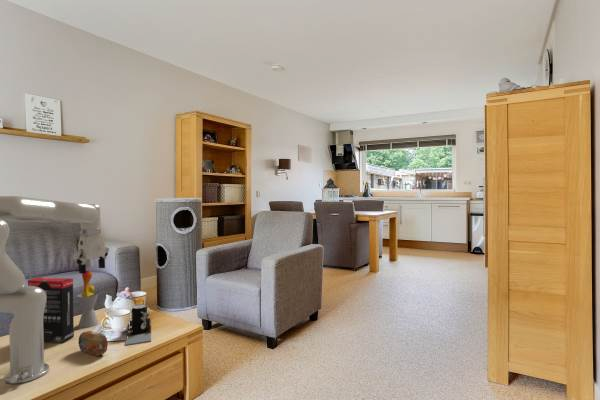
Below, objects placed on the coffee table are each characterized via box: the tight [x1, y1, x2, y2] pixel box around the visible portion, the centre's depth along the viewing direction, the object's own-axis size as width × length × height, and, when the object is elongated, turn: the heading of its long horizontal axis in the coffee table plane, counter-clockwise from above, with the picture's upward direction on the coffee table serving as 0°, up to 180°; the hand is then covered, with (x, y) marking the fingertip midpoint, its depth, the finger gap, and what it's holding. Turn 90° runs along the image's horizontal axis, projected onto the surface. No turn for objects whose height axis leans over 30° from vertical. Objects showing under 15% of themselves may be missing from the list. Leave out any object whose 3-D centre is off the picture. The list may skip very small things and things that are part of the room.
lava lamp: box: [76, 259, 100, 329], centre depth 170 cm, size 9×9×35 cm
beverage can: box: [131, 303, 148, 335], centre depth 161 cm, size 7×7×12 cm
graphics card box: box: [27, 276, 75, 344], centre depth 152 cm, size 17×7×27 cm, turn 84°
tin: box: [78, 330, 108, 357], centre depth 140 cm, size 15×3×8 cm, turn 65°
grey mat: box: [125, 332, 152, 346], centre depth 153 cm, size 9×10×1 cm
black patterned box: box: [126, 317, 152, 334], centre depth 162 cm, size 10×10×4 cm
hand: (92, 270), depth 153 cm, fingers open, 9 cm apart
